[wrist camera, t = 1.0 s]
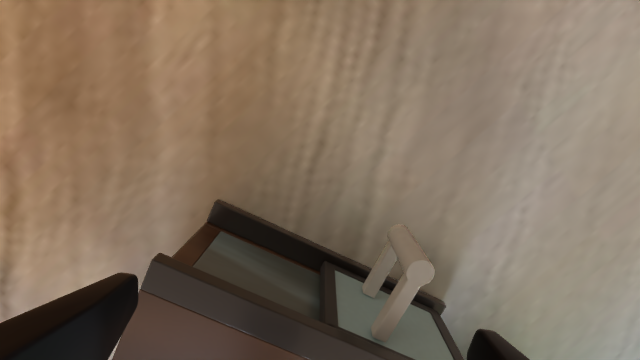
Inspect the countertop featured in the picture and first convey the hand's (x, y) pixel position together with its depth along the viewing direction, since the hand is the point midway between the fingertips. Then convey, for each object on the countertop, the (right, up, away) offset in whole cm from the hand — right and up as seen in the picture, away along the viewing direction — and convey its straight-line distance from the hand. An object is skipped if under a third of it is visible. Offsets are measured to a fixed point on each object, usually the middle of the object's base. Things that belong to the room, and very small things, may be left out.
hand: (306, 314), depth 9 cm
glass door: (+6, -2, +14) cm, 15 cm away
